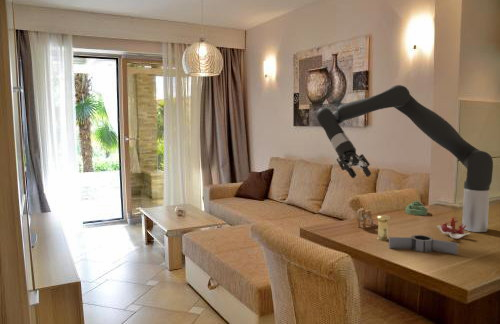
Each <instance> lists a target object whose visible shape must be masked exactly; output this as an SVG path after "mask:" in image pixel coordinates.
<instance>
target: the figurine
mask: <svg viewBox="0 0 500 324" xmlns="http://www.w3.org/2000/svg"><path fill="white" fill-rule="evenodd" d="M457 218H458V217H451V220H450V222H449V223H450V225H448V224H449V223H448V222H444V223H442V225H440V224H438V225H436V227H437V228H438V230H440V233H442V234H443V235H445V234H448V235H449V236H450V238H452V239H456V240H458V239H461V238H463V237H464V236H468V235H470V234H471V233H470V232H465V231H464V228H465V227H466V225H465V226H464V227H462V226H463V224H462V223H461V225H459V226H458V228H457V229H456V223H458V220H455V219H457Z"/></svg>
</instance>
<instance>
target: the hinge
mask: <svg viewBox="0 0 500 324" xmlns="http://www.w3.org/2000/svg"><path fill="white" fill-rule="evenodd" d="M458 244H459V243H458V242H455V241H449V240H448V241H447V240H440V239H436V238H435V239H434V237H431V236H429V235H424V234H412V235H411V236H410V237H407V236H402V237H401V236H388V248H389V249H391V250H392V249H398V250H399V249H400V250H404V249H405V250H406V249H407V250H413V251H415V252H421V253H431V252H437V253H443V254H448V255H456V256H457V255H458V247H459V245H458Z"/></svg>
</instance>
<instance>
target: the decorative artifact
mask: <svg viewBox="0 0 500 324" xmlns="http://www.w3.org/2000/svg"><path fill="white" fill-rule="evenodd" d="M405 214H408V215H412V216H427V215H428V208H427V207H426V206H425V205H424V204H423V203H422V202H420V201H419V200H418V199H417V198H416V200H413V202H412V203H409V204H407V206H406V207H405Z"/></svg>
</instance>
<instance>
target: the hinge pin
mask: <svg viewBox="0 0 500 324" xmlns="http://www.w3.org/2000/svg"><path fill="white" fill-rule="evenodd" d="M390 219H391V217H390V215H386V214H385V215H384V214H378V215H376V220H378V221H377V223H378V224H377V225H378V227H377V229H378V230H377V240H379V241H389V221H391V220H390Z"/></svg>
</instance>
